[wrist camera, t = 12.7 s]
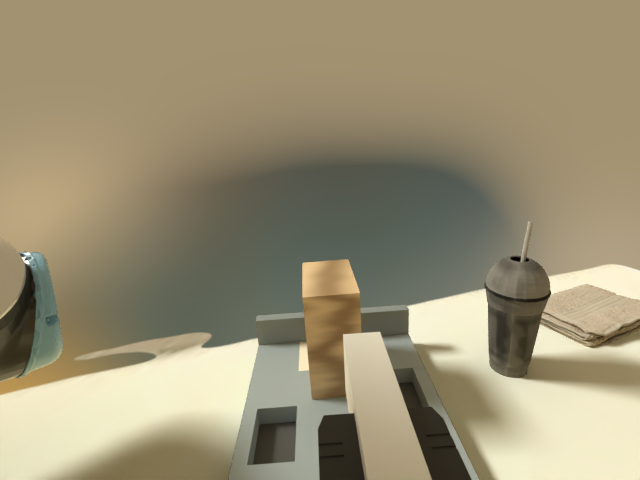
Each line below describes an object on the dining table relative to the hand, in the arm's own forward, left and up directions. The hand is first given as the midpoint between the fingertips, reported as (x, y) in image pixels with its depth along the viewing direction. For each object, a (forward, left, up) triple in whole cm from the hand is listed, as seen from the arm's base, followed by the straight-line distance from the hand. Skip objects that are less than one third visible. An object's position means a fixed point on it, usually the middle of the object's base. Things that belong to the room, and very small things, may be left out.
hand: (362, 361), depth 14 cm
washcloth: (+42, +38, -24) cm, 61 cm away
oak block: (0, +26, -20) cm, 33 cm away
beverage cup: (+23, +27, -23) cm, 42 cm away
